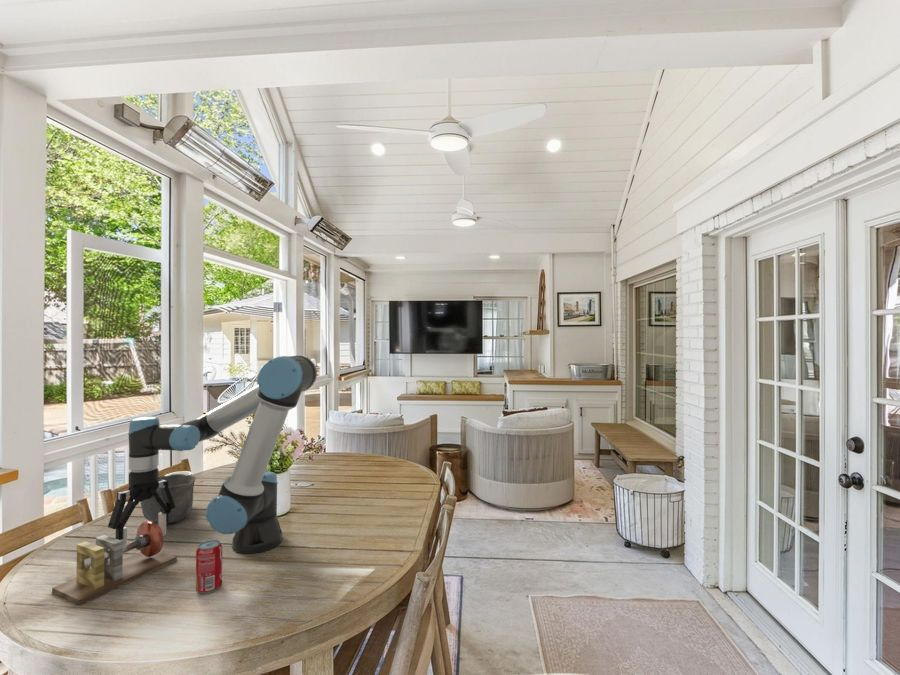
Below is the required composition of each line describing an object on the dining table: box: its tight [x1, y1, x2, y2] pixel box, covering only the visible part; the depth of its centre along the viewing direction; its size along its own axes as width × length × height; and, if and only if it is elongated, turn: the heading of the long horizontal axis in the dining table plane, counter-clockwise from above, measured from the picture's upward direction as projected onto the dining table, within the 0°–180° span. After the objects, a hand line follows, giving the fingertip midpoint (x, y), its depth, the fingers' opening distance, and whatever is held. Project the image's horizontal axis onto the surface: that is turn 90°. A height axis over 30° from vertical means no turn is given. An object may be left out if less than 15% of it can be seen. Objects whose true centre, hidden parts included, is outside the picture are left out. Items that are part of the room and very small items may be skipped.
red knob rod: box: [84, 520, 164, 568], centre depth 127 cm, size 10×17×10 cm, turn 155°
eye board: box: [51, 534, 178, 606], centre depth 126 cm, size 13×25×11 cm, turn 155°
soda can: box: [195, 539, 223, 595], centre depth 120 cm, size 6×6×12 cm
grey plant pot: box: [140, 474, 196, 524], centre depth 164 cm, size 18×18×15 cm
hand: (143, 541), depth 136 cm, fingers open, 11 cm apart
